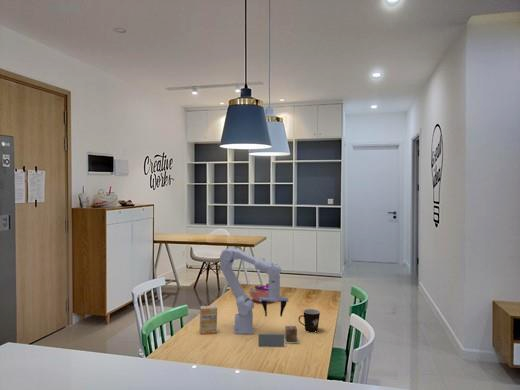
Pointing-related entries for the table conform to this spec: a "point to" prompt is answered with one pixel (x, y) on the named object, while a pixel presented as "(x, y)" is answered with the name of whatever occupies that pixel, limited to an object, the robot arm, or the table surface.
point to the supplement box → (208, 319)
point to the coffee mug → (311, 319)
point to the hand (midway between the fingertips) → (273, 315)
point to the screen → (271, 340)
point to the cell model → (259, 292)
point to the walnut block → (291, 334)
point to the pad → (290, 342)
